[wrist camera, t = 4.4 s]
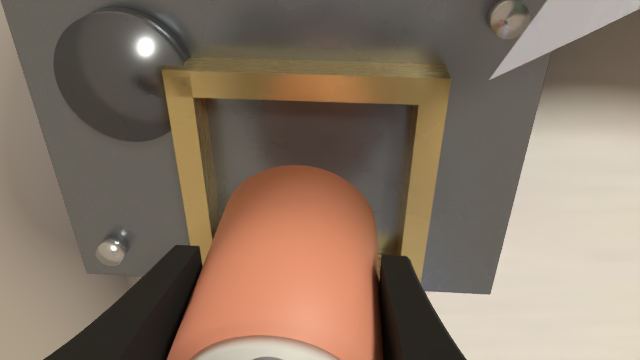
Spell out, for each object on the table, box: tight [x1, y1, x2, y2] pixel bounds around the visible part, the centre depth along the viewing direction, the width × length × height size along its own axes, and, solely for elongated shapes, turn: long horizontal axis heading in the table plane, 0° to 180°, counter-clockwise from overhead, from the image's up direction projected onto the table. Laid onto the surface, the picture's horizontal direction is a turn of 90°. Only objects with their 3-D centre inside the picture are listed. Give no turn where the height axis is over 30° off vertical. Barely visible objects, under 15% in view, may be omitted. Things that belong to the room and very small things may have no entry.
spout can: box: [167, 165, 383, 360], centre depth 12 cm, size 4×4×7 cm
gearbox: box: [1, 0, 552, 294], centre depth 17 cm, size 12×16×4 cm
